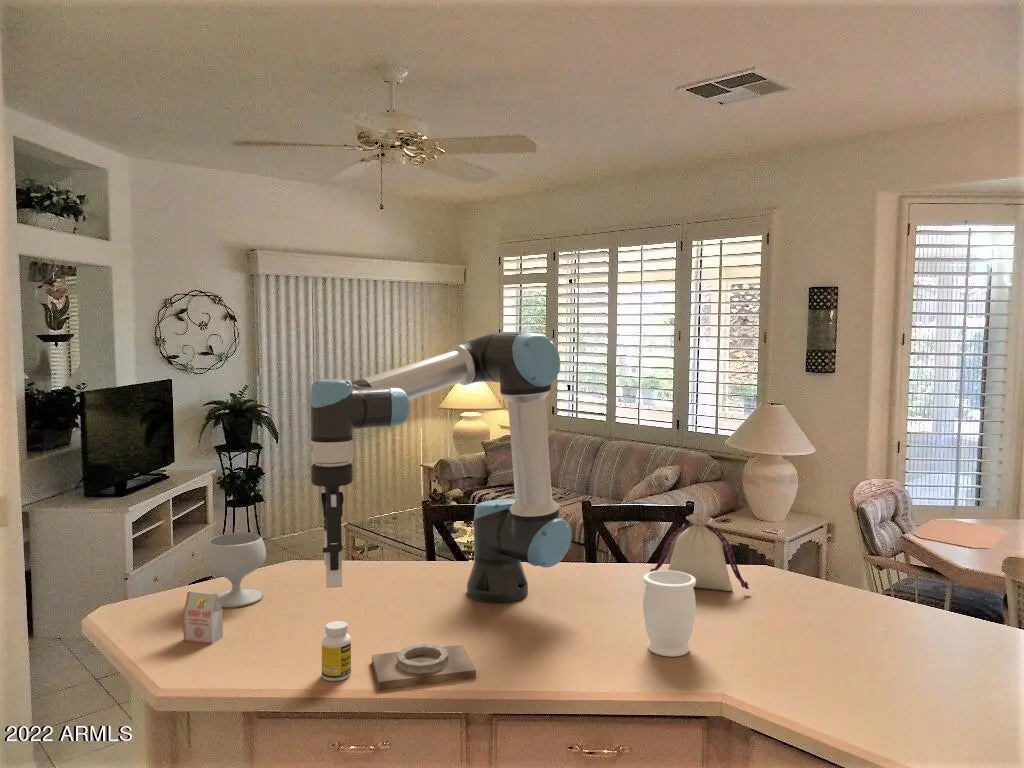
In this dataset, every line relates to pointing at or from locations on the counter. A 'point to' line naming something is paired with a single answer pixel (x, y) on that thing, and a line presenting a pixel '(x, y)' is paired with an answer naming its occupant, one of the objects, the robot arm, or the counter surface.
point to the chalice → (235, 564)
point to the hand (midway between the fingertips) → (332, 575)
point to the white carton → (202, 618)
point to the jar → (669, 611)
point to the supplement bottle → (336, 652)
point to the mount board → (422, 666)
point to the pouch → (701, 555)
